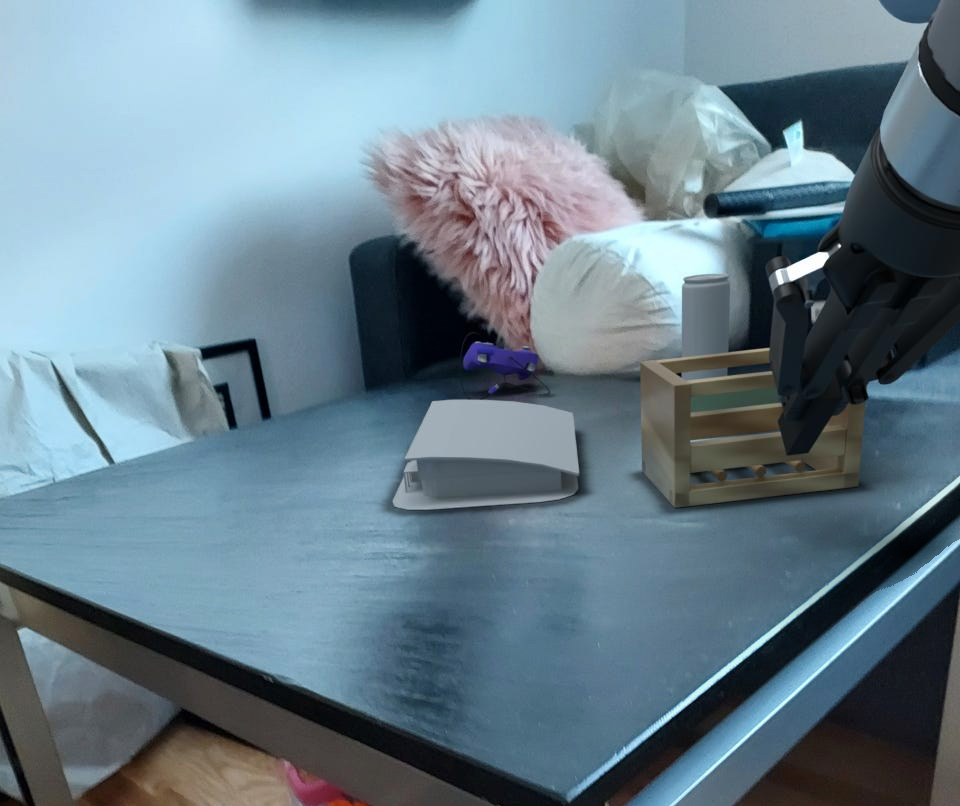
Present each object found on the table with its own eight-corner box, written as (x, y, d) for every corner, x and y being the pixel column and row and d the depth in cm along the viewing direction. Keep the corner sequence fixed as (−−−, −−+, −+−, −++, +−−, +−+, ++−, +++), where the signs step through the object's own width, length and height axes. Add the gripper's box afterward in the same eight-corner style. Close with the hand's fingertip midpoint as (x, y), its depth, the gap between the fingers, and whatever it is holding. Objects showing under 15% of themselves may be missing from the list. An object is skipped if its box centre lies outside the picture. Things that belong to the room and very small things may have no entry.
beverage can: (712, 387, 105) (714, 272, 100) (736, 395, 101) (739, 275, 96) (673, 394, 104) (673, 277, 99) (695, 402, 100) (697, 280, 94)
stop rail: (773, 406, 95) (775, 382, 94) (778, 409, 94) (779, 384, 93) (665, 418, 95) (665, 394, 94) (669, 421, 94) (668, 396, 92)
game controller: (527, 346, 118) (558, 338, 109) (518, 413, 119) (547, 411, 110) (451, 331, 115) (476, 322, 105) (442, 400, 116) (466, 397, 107)
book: (387, 512, 76) (380, 464, 74) (421, 438, 96) (416, 399, 95) (580, 499, 74) (578, 450, 72) (573, 427, 95) (571, 387, 93)
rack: (805, 452, 80) (812, 342, 76) (858, 486, 71) (869, 363, 67) (641, 471, 79) (639, 361, 75) (674, 508, 70) (674, 385, 67)
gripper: (837, 236, 40) (709, 497, 63) (1131, 206, 41) (901, 475, 63) (796, 103, 43) (687, 399, 65) (1074, 76, 43) (872, 379, 66)
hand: (792, 436), depth 64 cm, fingers closed
